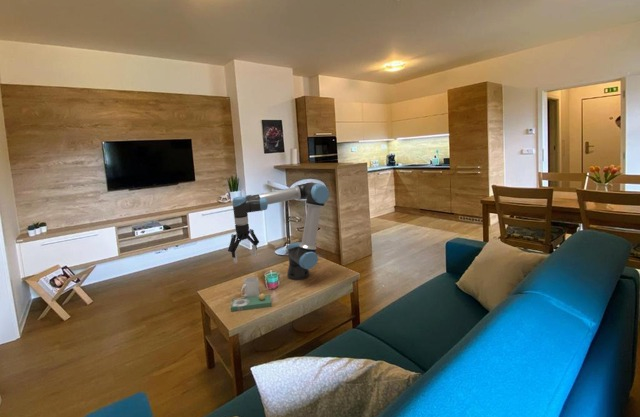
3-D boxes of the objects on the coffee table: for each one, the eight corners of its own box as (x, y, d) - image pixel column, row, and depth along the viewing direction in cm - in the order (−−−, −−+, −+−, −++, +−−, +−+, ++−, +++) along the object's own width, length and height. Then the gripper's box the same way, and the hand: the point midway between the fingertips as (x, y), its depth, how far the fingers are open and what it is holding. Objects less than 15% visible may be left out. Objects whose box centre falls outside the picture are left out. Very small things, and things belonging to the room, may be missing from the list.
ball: (265, 297, 194) (264, 291, 193) (265, 300, 190) (264, 294, 189) (258, 298, 193) (258, 292, 192) (258, 301, 190) (258, 295, 189)
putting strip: (270, 298, 198) (270, 294, 197) (271, 306, 188) (271, 302, 188) (232, 303, 194) (232, 299, 194) (231, 311, 184) (230, 307, 184)
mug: (237, 299, 199) (235, 282, 197) (253, 292, 208) (252, 275, 206) (246, 303, 194) (244, 285, 191) (262, 295, 202) (261, 278, 200)
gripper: (255, 218, 204) (258, 251, 208) (218, 228, 186) (223, 264, 190) (262, 219, 199) (266, 254, 203) (226, 229, 181) (231, 267, 185)
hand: (245, 259), depth 197 cm, fingers open, 13 cm apart
